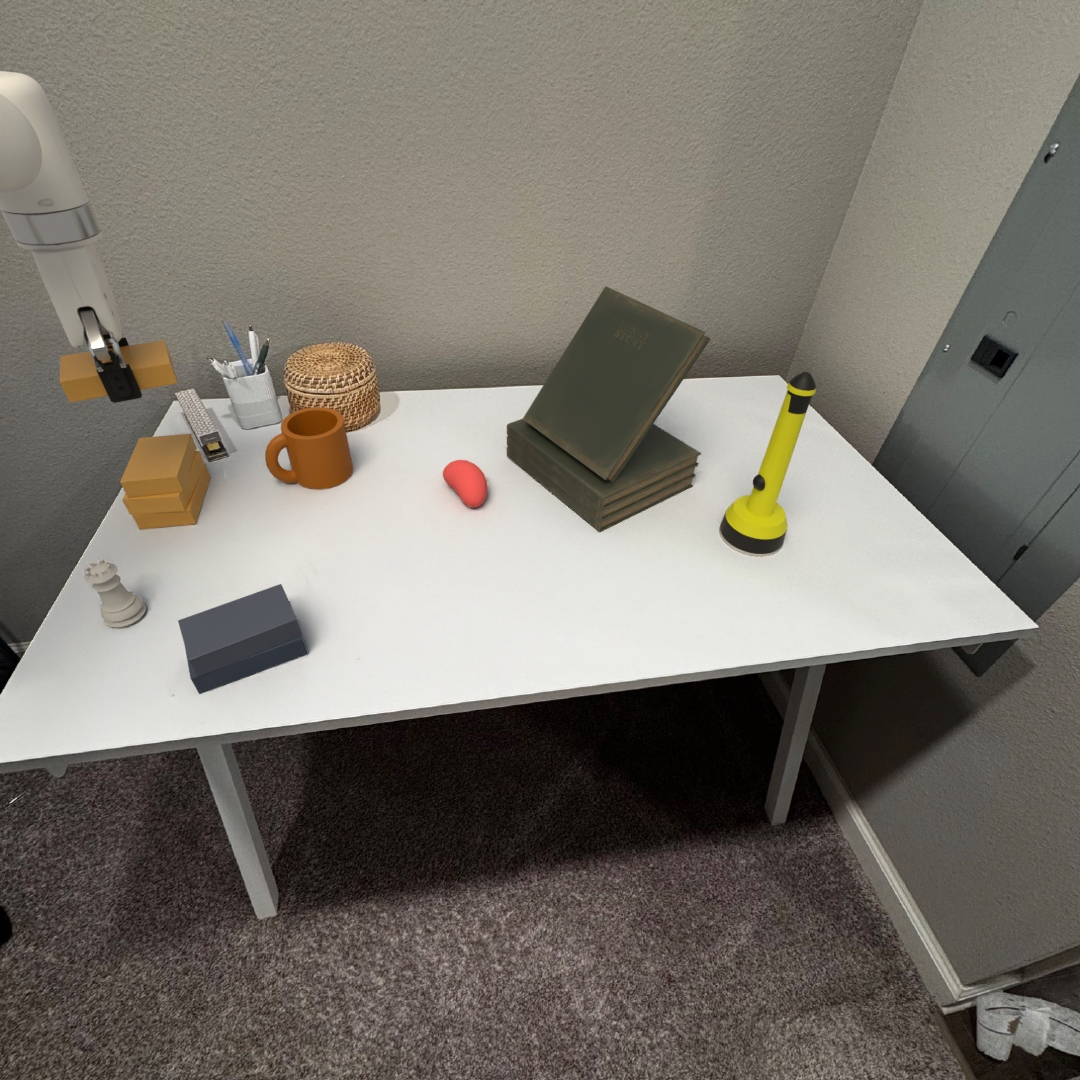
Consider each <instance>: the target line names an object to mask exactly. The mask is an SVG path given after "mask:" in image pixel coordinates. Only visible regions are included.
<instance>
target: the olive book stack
mask: <svg viewBox="0 0 1080 1080" xmlns="http://www.w3.org/2000/svg"><path fill="white" fill-rule="evenodd" d="M705 334H706V332H705V331H704V330H702V329H699V328H698V327H696V326H693V325H691V324H689V323H687V322H685V321H682V320H681V319H678V318H676V317H674V316H672V315H669V314H667V313H665V312H663V311H661V310H659V309H656V308H654V307H652V306H650V305H648V304H646V303H643V302H641V301H639V300H637V299H635V298H634V297H633V298H632V297H630V296H628V295H627V294H624V293H622V292H620V291H617V290H615V289H613V288H611V287H609V286H606V285H605V286H604V288H603V289H602V291H601V292H600V294H599V296H598V297H597V299H596V300H595V302H594V304H593V305H592V307H590V310H589V311H588V313H587V315H586V316H585V318H584V320H583V321H582V323H581V325H580V326H579V327H578V329H577V330H576V333H575V334H574V336H573V337H572V339H571V340H570V342H569V343H568V345H567V347H566V348H565V350H564V351H563V353H562V355H561V357H560V358H559V359H558V361H557V362H556V365H555V366H554V367H553V369H552V371H551V372H550V374H549V375H548V377H547V379H546V380H545V382H544V383H543V385H542V387H541V388H540V390H539V391H538V393H537V395H536V396H535V398H534V400H533V402H532V403H531V404H530V406H529V407H528V409H527V411H526V412H525V414H524V416H523V417H522V418H520V419H517V420H515V421H512V422H509V423H507V425H506V457H507V458H508V459H509V460H511V461H512V462H513V463H514V464H516V465H517V466H518V467H519V468H521V469H522V470H523V471H524V472H525V473H526V474H528V475H529V476H530V477H531V478H533V479H534V480H535V481H536V482H537V483H539V484H541V486H543V487H544V488H545V489H546V490H547V491H549V492H550V493H551V494H552V495H554V496H555V497H556V498H557V499H558V500H560V501H561V502H563V504H564V505H566V506H567V507H568V508H570V509H571V510H572V511H573V512H575V513H576V514H577V515H579V517H581V518H582V520H584V521H585V522H587V523H588V524H589V525H590V526H591V527H593V528H594V529H595V530H597V531H598V532H599V533H601V532H604V531H605V530H608V529H610V528H611V527H613V526H616V525H618V524H620V523H622V522H623V521H625V520H628V519H630V518H632V517H634V516H636V515H638V514H640V513H642V512H644V511H646V510H648V509H650V508H653V507H655V506H656V505H658V504H660V503H663V502H665V501H667V500H668V499H671V498H673V497H674V496H676V495H678V494H680V493H683V492H685V491H687V490H689V489H691V488H693V487H694V485H693V484H692V483H693V479H695V478H696V476H697V474H696V473H695V470H696V468H697V467H699V462H698V458H699V456H701V455H702V453H701V452H700V451H698V450H697V449H695V448H694V447H692V446H690V445H689V444H687V443H685V442H684V441H682V440H680V439H679V438H678V437H676V436H675V435H672V434H671V433H670V432H668V431H666V430H664V429H663V428H661V427H660V426H658V425H656V424H655V423H656V421H657V419H659V416H660V415H661V413H662V412H663V410H664V409H665V408H666V406H667V404H668V403H669V401H670V400H671V398H672V397H673V396H674V394H675V393H676V391H677V390H678V388H679V387H680V385H681V384H682V383H683V381H684V379H685V378H686V376H687V375H688V374H689V372H690V370H691V369H692V368H693V366H694V364H695V363H696V362H697V360H698V358H700V356H701V354H702V353H703V351H704V350H705V348H706V346H707V345H708V344H709V342H710V341H711V337H709V336H707V335H705Z"/></svg>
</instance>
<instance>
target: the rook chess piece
mask: <svg viewBox="0 0 1080 1080" xmlns="http://www.w3.org/2000/svg"><path fill="white" fill-rule="evenodd" d="M97 561H98V562H97V563H96V562H95V561H94V560H92V561H91V562H89V563H88V565H89V566H85V567H84V568H83V570H84V576H83V579H84V582H86V583H87V584H89V585H90V584H91V586H92V590H93V591H95V592H96V593H97V594H98V596H99V599H100V601H101V604H100V617H101V618H102V619H103V623H104V624H105V625H106V626H108V627H110V628H111V627H112V628H116V629H121V628H127V627H130V626H132V625H134V624H136V623H138V622H139V621H140V620H141V619H142V618H143V616H144V615H145V612H146V609H147V606H146V603H145V602H144V601H143V599H142V597H140V596H139V595H137V593H133V592H132V591H129V590H128V589H127V588H126V587H125V585H124V584H123V583H122V578H121V576H120V575H118V574H117V572H118V566H117V565H116V564H115V563H112V562H111V561H109V560H108V559H106V560H104V558H101V559H98V560H97Z"/></svg>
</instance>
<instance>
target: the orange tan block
mask: <svg viewBox="0 0 1080 1080" xmlns="http://www.w3.org/2000/svg"><path fill="white" fill-rule="evenodd" d="M108 350H109V351H111V350H112V351H113V352H114V349H113V348H110V349H108ZM120 350H121V352H122V355H123V358H124V360H125V363H126V364H129V365H130V367H131V370H132V372H133V374H134V377H135V379H136V381H137V384H138V386H139V388H140V391H143V390H148V389H153V388H159V387H164V386H170V385H175V384H176V385H177V384H178V380H177V376H176V372H175V367H174V363H173V359H172V356H171V353H170V351H169V348H168V345H167V343H166V341H165V339H163V340H155V341H149V342H143V343H136V344H129V346H123V347H120ZM114 353H115V352H114ZM115 356H116V355H115ZM59 359H60V360H59V361H60V362H59V384H60V386H61V388H62V390H63V392H64V394H65V396H66V397H67V399H68V402H69V403H70V404H71V403H76V402H82V401H88V400H92V399H99V398H103V397H109V396H108V394H107V392H106V390H105V388H104V386H103V384H102V381H101V379H100V377H99V375H98V373H97V368H96V366H95V363H94V361H93V358H92V355H91V353H90V351H84V352H79V353H72V354H65V355H60V358H59Z"/></svg>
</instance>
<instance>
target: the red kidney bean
mask: <svg viewBox="0 0 1080 1080" xmlns="http://www.w3.org/2000/svg"><path fill="white" fill-rule="evenodd" d="M442 478H443V480H444V482H445V483H446V484H447V485H448V486H449V487H451V488H452V489H453V490H454V491H455V492H456V494H457V495H458V497H459V498H460V500H461V501H462V502H463V504H464V505H466V506H467V507H468V508H478V507H481V506H482V505H483V503H484V502H485V501H486V498H487V496H488V488H489V487H488V481H487V478H486V476H485V473H484V472H483V470H482V469H481V468H480V467H479V466H478V465H477V464H476V463H473V462H472V461H469V460H467V459H457V460H453V461H451V462H449V463H448V464H446V466H445V467H444V468H443V471H442Z"/></svg>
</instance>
